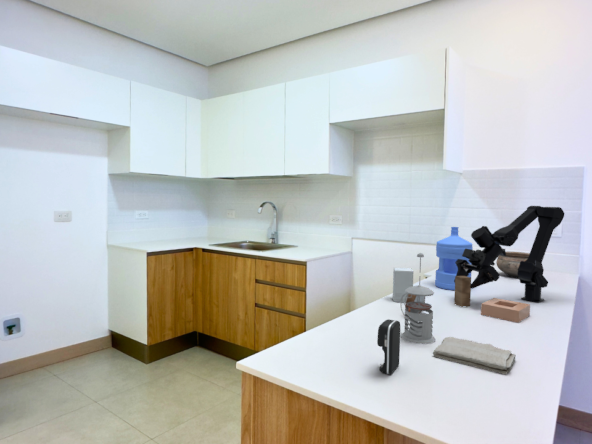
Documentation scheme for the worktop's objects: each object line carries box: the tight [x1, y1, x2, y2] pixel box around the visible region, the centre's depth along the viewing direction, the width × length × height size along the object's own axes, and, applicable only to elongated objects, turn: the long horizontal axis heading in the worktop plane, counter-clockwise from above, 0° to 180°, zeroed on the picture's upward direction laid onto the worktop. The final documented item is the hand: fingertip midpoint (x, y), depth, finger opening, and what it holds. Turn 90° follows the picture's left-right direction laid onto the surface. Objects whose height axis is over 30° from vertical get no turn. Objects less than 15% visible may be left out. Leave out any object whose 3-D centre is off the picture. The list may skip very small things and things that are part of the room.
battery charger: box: [376, 319, 401, 375], centre depth 91 cm, size 7×4×11 cm, turn 149°
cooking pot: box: [495, 251, 530, 279], centre depth 206 cm, size 25×19×12 cm
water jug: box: [434, 226, 474, 291], centre depth 178 cm, size 16×16×28 cm
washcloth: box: [432, 336, 516, 376], centre depth 98 cm, size 12×18×3 cm, turn 54°
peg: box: [453, 276, 472, 308], centre depth 148 cm, size 4×4×11 cm
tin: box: [405, 294, 426, 314], centre depth 137 cm, size 15×3×8 cm, turn 145°
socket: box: [480, 297, 531, 324], centre depth 136 cm, size 12×12×4 cm
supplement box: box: [392, 267, 414, 304], centre depth 154 cm, size 7×7×13 cm
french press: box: [400, 252, 436, 345], centre depth 113 cm, size 10×12×25 cm
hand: (462, 285), depth 148 cm, fingers open, 9 cm apart
